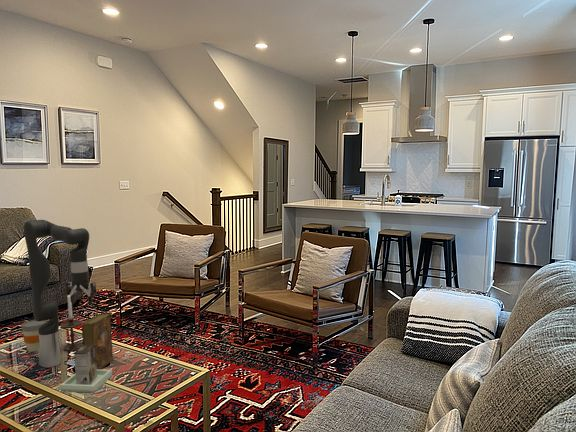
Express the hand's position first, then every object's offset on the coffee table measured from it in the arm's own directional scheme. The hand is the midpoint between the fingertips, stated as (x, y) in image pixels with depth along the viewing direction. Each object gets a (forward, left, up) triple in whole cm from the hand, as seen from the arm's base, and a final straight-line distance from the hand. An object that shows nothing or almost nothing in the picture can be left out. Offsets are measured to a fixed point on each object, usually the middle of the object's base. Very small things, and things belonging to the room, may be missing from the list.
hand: (82, 303), depth 208 cm
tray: (+5, -8, -36) cm, 37 cm away
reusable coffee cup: (-48, +28, -36) cm, 66 cm away
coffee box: (+5, -8, -35) cm, 37 cm away
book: (+1, +10, -36) cm, 38 cm away
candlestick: (-27, +30, -36) cm, 54 cm away
